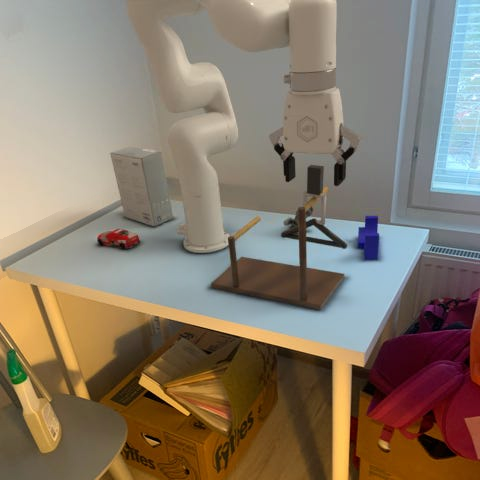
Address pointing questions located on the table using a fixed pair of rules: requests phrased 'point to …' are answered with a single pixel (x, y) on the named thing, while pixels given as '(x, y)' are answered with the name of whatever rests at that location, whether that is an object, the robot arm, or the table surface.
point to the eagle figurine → (295, 221)
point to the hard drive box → (142, 185)
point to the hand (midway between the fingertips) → (314, 181)
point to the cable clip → (369, 238)
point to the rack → (280, 273)
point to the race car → (118, 238)
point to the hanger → (315, 190)
